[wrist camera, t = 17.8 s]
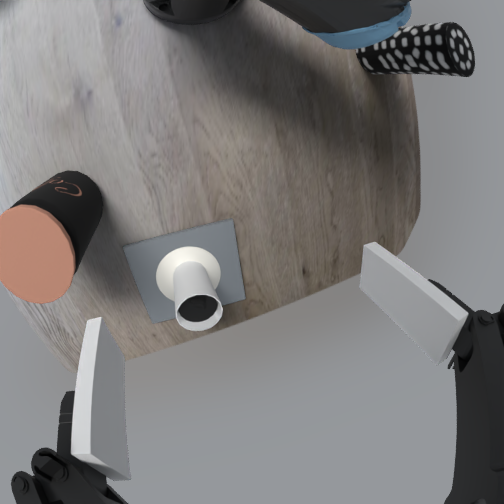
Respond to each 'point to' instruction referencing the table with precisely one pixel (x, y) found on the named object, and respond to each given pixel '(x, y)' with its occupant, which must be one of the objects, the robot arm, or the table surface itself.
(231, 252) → the board
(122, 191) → the table surface
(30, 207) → the coffee jar
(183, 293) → the white cup
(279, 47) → the table surface
